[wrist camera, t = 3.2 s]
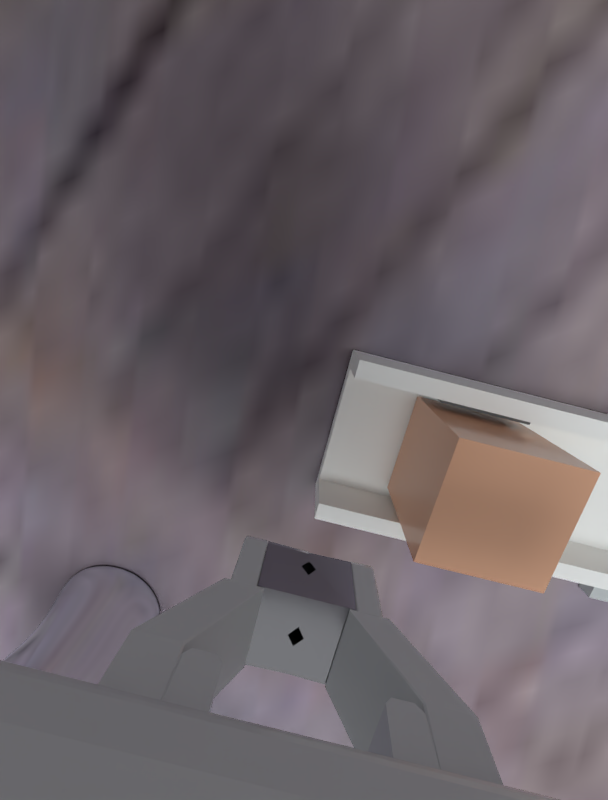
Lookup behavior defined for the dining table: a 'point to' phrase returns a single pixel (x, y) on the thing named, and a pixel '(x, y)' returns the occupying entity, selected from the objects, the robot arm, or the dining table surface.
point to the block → (486, 495)
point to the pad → (595, 592)
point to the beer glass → (88, 624)
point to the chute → (401, 384)
